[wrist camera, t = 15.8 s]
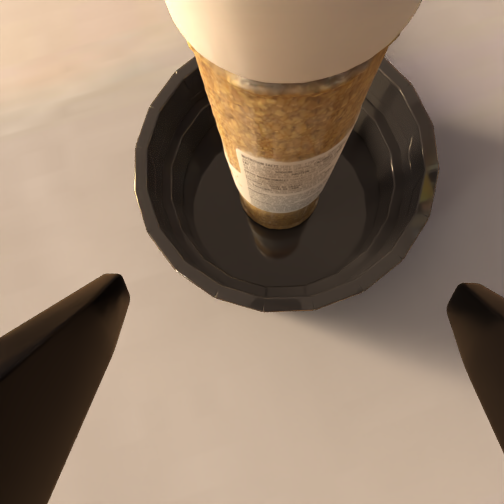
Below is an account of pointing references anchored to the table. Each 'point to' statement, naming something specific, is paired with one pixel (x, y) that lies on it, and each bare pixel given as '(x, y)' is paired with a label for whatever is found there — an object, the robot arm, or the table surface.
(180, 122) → the pan
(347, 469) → the table surface
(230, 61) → the sprinkles bottle
